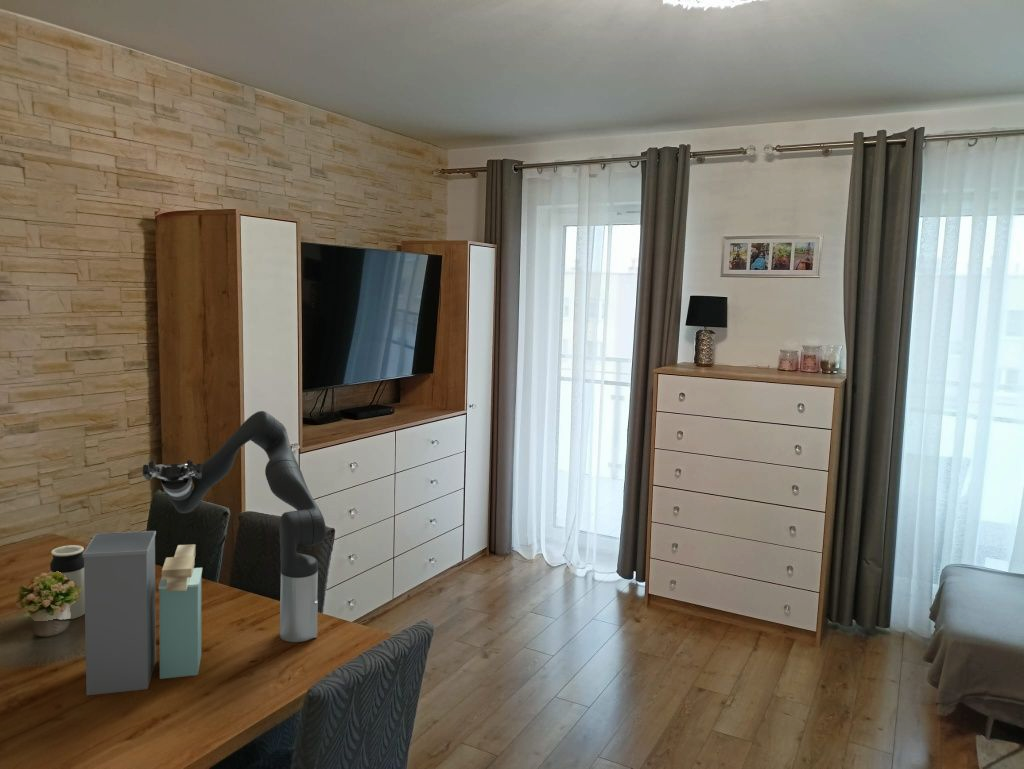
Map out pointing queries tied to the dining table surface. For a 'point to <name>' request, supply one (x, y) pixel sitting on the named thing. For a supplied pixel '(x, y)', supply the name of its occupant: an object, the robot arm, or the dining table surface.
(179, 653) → the tall pale green pillar
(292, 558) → the robot arm
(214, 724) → the dining table surface
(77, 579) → the travel mug
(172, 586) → the beige stepped bar
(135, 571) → the stand
